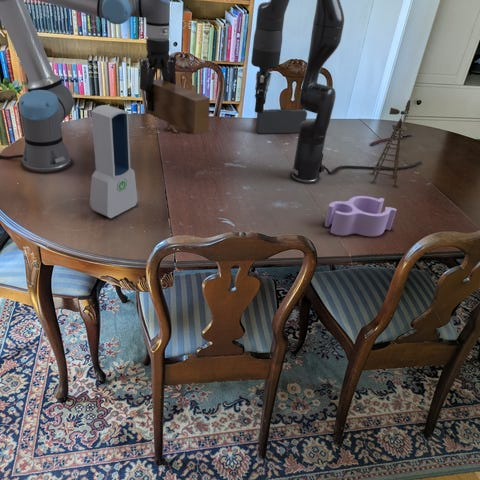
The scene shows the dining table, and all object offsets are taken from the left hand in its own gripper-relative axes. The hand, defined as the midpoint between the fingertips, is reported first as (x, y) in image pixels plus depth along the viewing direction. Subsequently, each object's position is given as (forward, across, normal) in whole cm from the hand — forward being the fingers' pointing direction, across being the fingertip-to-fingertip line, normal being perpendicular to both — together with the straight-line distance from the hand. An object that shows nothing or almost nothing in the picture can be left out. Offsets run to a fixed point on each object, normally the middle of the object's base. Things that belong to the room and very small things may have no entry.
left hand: (158, 108), depth 165 cm
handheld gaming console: (+18, +60, -8) cm, 63 cm away
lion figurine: (+18, +24, +16) cm, 34 cm away
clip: (+18, +18, -76) cm, 80 cm away
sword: (+19, +99, -42) cm, 109 cm away
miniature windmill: (+18, +56, -63) cm, 86 cm away
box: (+2, 0, -10) cm, 10 cm away
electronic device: (+18, -34, -25) cm, 46 cm away
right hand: (-13, +1, -46) cm, 48 cm away
